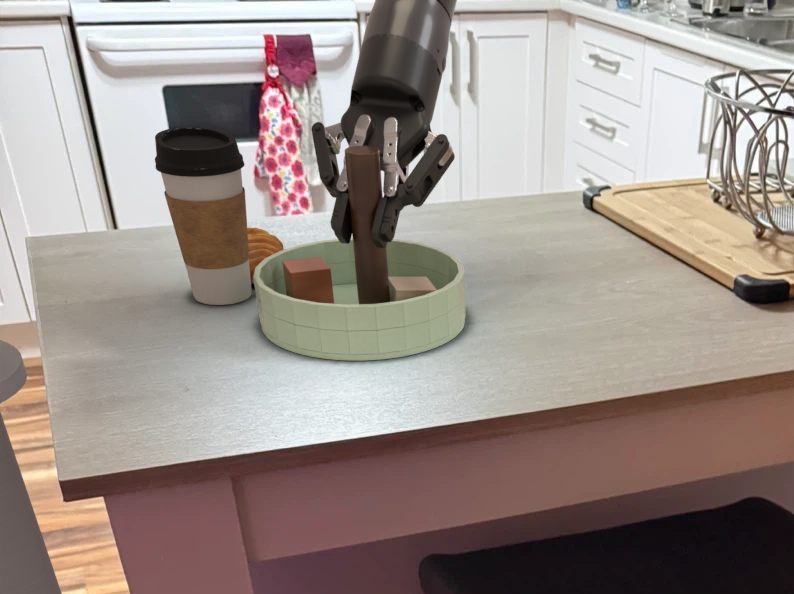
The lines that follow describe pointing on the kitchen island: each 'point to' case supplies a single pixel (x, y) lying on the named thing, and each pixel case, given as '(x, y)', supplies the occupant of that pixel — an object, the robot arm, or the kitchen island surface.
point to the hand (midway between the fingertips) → (360, 240)
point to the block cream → (409, 287)
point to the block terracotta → (308, 279)
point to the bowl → (363, 323)
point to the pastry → (261, 247)
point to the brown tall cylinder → (366, 223)
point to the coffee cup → (207, 210)
